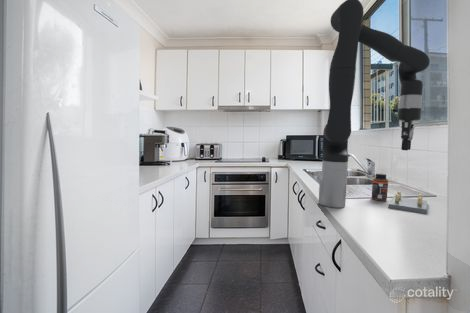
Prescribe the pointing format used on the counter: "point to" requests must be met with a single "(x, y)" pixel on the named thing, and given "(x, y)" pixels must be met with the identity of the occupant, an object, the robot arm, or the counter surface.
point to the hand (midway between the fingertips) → (405, 150)
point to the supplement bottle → (380, 187)
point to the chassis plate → (408, 203)
